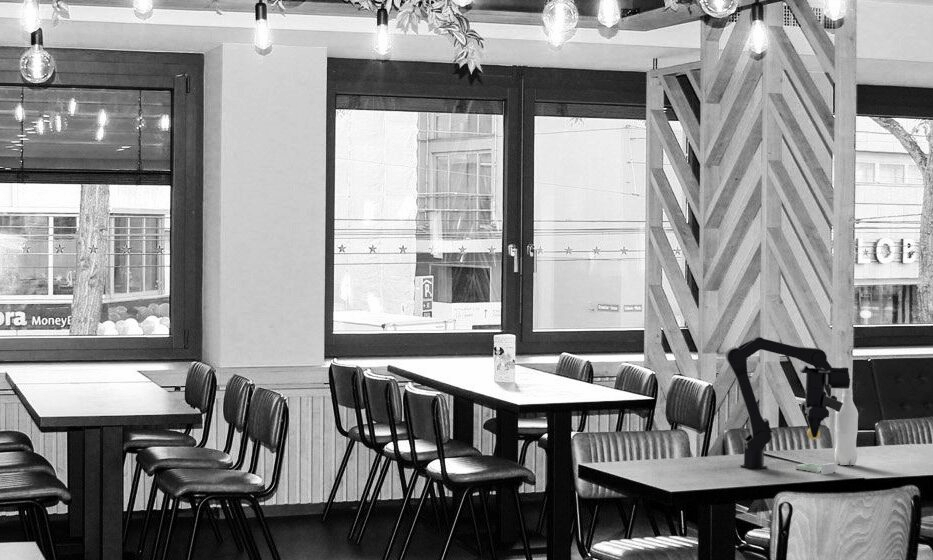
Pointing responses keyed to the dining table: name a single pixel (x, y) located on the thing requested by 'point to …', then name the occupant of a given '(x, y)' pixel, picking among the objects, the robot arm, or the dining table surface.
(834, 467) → the wall
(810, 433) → the ball
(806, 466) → the dish
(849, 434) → the water bottle
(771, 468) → the dining table surface
